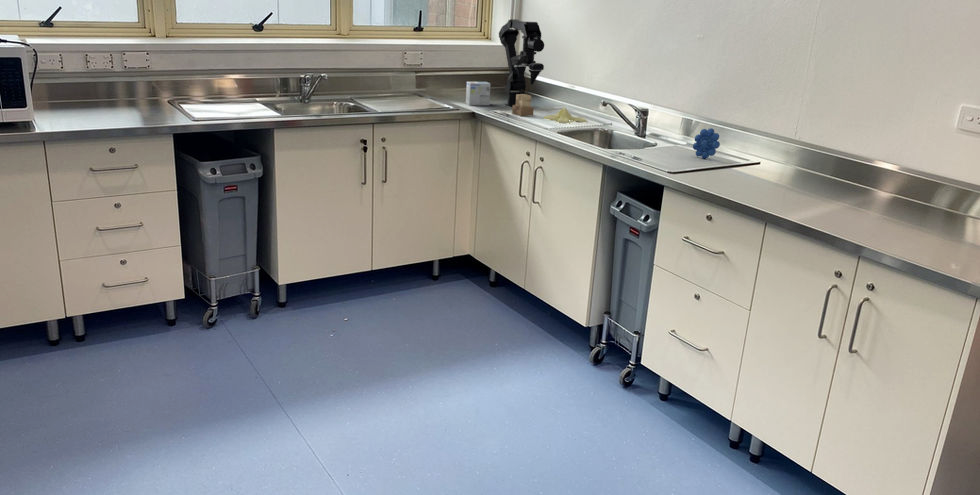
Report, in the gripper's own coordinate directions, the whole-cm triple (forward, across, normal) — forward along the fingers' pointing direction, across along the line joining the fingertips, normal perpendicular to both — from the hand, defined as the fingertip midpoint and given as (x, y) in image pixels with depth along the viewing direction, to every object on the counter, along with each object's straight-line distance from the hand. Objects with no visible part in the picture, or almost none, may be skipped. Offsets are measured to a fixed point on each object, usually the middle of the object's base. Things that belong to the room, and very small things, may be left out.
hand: (526, 82), depth 389 cm
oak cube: (+9, +10, -8) cm, 16 cm away
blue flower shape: (+13, +108, +10) cm, 109 cm away
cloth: (+14, +25, +4) cm, 29 cm away
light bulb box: (+13, -20, -14) cm, 28 cm away
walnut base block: (+13, +10, -8) cm, 18 cm away
